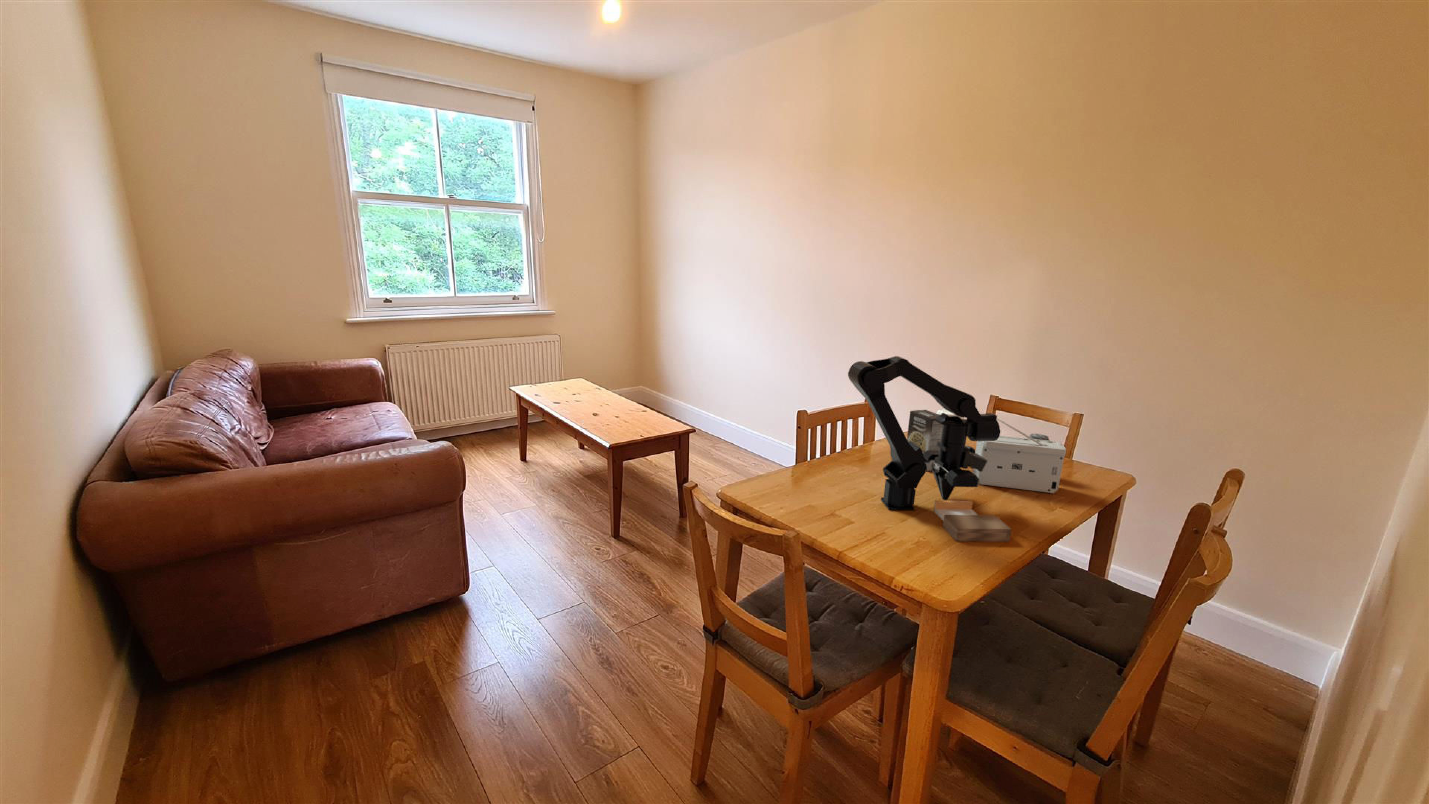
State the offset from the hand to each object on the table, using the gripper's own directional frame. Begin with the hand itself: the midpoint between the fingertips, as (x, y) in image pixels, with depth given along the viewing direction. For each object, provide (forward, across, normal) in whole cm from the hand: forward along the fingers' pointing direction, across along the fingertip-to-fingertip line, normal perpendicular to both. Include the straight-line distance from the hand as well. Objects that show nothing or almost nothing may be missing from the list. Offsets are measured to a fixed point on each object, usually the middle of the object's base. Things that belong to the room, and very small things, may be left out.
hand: (944, 499), depth 144 cm
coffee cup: (+1, +35, -16) cm, 38 cm away
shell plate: (+2, -8, 0) cm, 8 cm away
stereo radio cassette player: (+2, +13, -26) cm, 29 cm away
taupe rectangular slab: (+1, -16, 0) cm, 16 cm away
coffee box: (+1, +28, -6) cm, 29 cm away
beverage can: (+1, +21, -36) cm, 41 cm away
